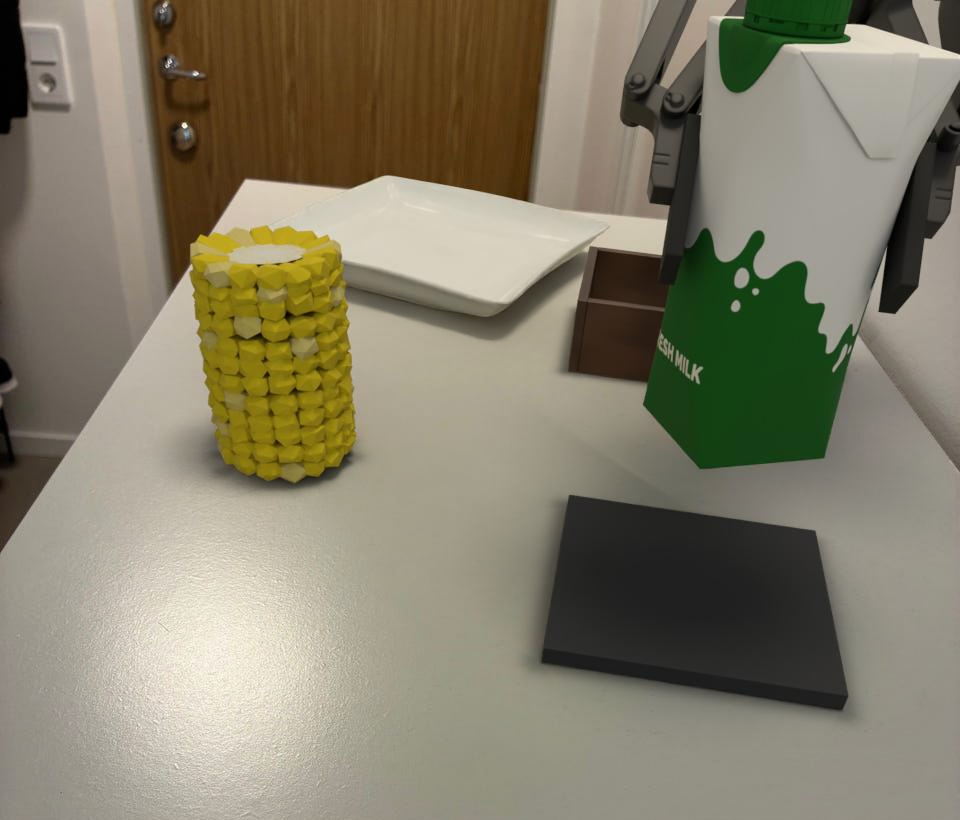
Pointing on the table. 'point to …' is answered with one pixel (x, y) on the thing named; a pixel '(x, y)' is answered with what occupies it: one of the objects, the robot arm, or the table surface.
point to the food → (275, 349)
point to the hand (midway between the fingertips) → (782, 284)
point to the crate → (618, 314)
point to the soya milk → (787, 224)
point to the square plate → (444, 242)
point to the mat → (694, 602)
